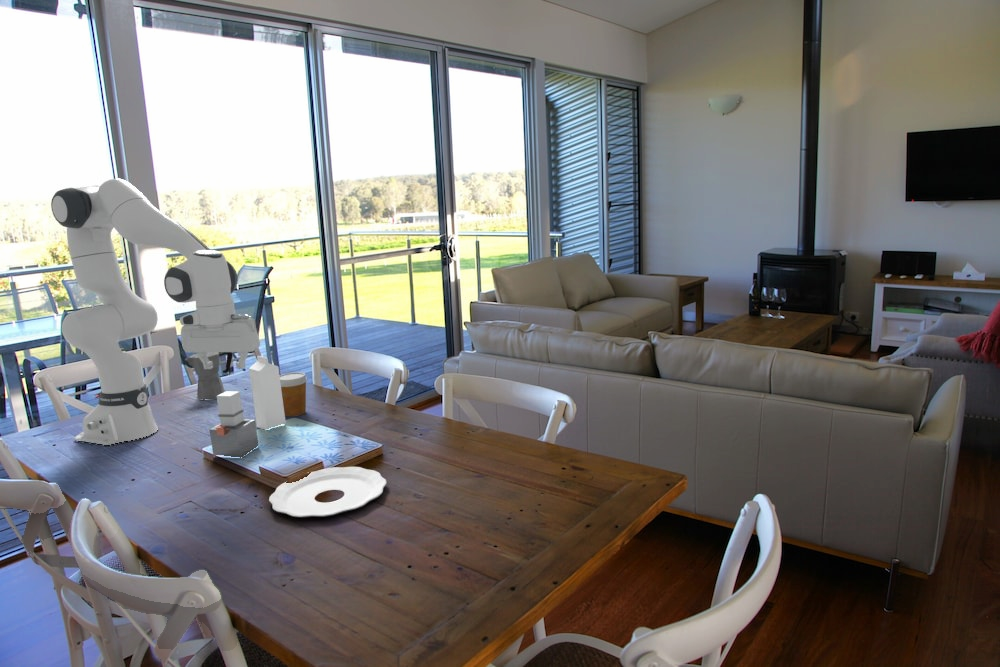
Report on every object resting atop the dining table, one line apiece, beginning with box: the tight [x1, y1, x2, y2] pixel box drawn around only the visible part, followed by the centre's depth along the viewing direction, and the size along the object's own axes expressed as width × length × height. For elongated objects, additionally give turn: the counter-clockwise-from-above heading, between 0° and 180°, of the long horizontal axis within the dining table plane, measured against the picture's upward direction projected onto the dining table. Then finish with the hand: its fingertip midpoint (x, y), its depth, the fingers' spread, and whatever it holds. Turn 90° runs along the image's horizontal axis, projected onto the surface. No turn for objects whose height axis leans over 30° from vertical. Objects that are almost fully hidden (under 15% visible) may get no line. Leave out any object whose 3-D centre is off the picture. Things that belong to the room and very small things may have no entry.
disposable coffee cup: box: [279, 372, 308, 417], centre depth 211 cm, size 10×10×12 cm
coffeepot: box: [184, 352, 234, 401], centre depth 235 cm, size 15×9×18 cm, turn 125°
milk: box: [248, 355, 287, 430], centre depth 196 cm, size 6×6×22 cm
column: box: [216, 390, 245, 429], centre depth 177 cm, size 4×4×16 cm
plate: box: [268, 466, 387, 519], centre depth 152 cm, size 25×25×2 cm
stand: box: [208, 418, 260, 459], centre depth 178 cm, size 14×14×10 cm
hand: (224, 368), depth 174 cm, fingers open, 8 cm apart
